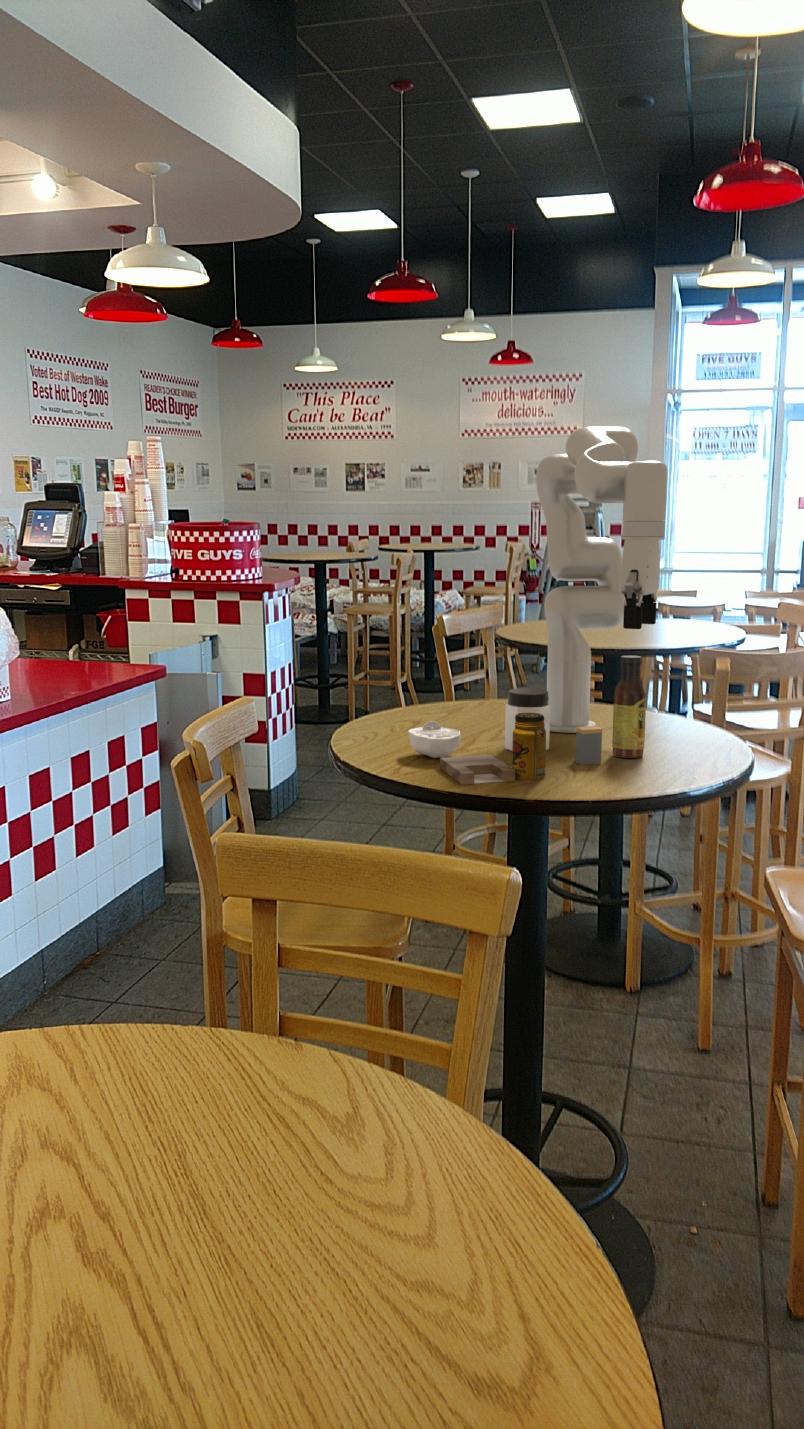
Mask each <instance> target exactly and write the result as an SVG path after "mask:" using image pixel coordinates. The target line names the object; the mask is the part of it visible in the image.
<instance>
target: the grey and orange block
mask: <svg viewBox="0 0 804 1429" xmlns="http://www.w3.org/2000/svg"><path fill="white" fill-rule="evenodd" d="M602 737H603V728H601V727H599V726H597V725H596V726H584V727H576V733H575V757H574V758H575V759H574V760H575V763H578V764H579V765H581V766H582V765H599V764H602V745H603V744H602V743H603V742H602V741H603V738H602Z"/></svg>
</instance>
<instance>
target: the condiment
mask: <svg viewBox="0 0 804 1429" xmlns="http://www.w3.org/2000/svg"><path fill="white" fill-rule="evenodd" d="M544 726H545V725H544V716H543V715H542V714H539V713H519V714H517V715H516V716H515V728H514V730H513V751H511V752H512V753H511V754H512V757H511V758H512V759H511V761H512V764H511V766H512V767H511V768H513V769H514V770H515V780H518V781H524V782H525V781H527V782H533V781H535V782H536V781H537V782H538V781H541V780H544V779H545V776H546V764H547V762H546V760H547V759H546V758H547V755H546V754H547V750H546V730H545V728H544Z"/></svg>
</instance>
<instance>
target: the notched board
mask: <svg viewBox="0 0 804 1429" xmlns="http://www.w3.org/2000/svg"><path fill="white" fill-rule="evenodd" d="M439 759H440V760H439V768H440V769H441V770H442V771H444V773H446V774H447V775H449V776H450V777H451V778H453V779H454V780H455V781H456V782H458V783H459V784H460V785H462V786H463V785H474V784H475V785H476V784H490V783H501V782H502V783H504V782H515V781H516V779H515V770H514V769H513V768H512V767H511V766H510V765H508V764H506V763H505V762H504V761H502V760H500V759H498V758H497V757H495V756H493V755H492V754H480V755H479V754H477V755H465V756H464V755H461V756H460V755H459V756H447V757H439Z"/></svg>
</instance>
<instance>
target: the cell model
mask: <svg viewBox="0 0 804 1429" xmlns="http://www.w3.org/2000/svg"><path fill="white" fill-rule="evenodd" d="M407 733H408V735H409V743H410V747H411V748H412V749H413V750H414V751H415V752H416V753H418V754H421V755H426V756H428V757H430V758H433V759H436V758H437V759H440V758H445V757H450V756H451V755H453V753H454V752H455V750H456V749H457V748H458V747H459V746H460V745H461V744H462V743H461V740H462V739H461V731H460V730H457V729H453V728H451V727H444V726H440V724H439V723H438V722H437V721H434V720H429V721H427V722H426V723H424V725H423V726H420V727H419V726H418V727H416V728H415V727H414V728H410V729H408V731H407Z"/></svg>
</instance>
